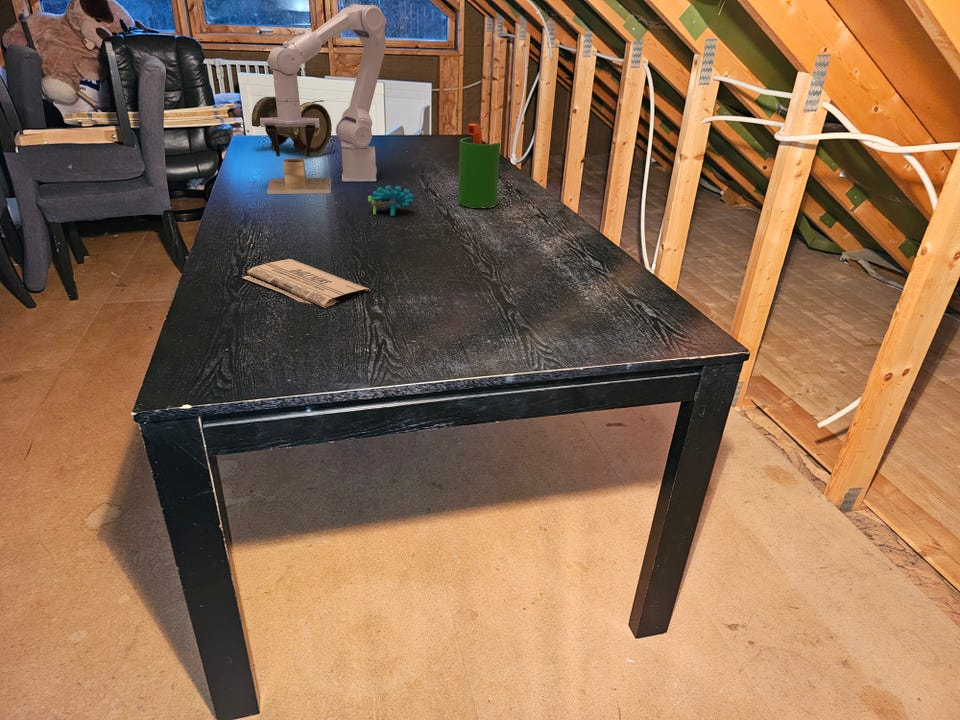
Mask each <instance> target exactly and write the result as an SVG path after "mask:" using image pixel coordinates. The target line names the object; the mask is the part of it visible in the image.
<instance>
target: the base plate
mask: <svg viewBox="0 0 960 720" xmlns="http://www.w3.org/2000/svg"><path fill="white" fill-rule="evenodd" d="M331 190H332V178H331V177H306V185H305V186H286V184H285V177H284V178H283V177H281V178H280V177H279V178H276V177H275V178H271V177H270V181H269V183H268V187H267V189H266V194H267V195H285V194H286V195H287V194H288V195H289V194H290V195H291V194H292V195H293V194H297V195H300V194H304V195H307V194H309V195H310V194H331V192H332V191H331Z"/></svg>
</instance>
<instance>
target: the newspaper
mask: <svg viewBox="0 0 960 720" xmlns="http://www.w3.org/2000/svg"><path fill="white" fill-rule="evenodd" d="M246 272H247V274H248V275H246V276H242V279H245V280H248V281H249V282H252V283H255V284H258V285H260V286H263V287H265V288H268V289H271V290H273V291H275V292H278V293H281V294H283V295H285V296H287V297H289V298H291V299H294V300H296V301H297V302H300V303H305V304H308V305H309V304H310V305H314V304H316V306H320V307H322V308H324V309H328V308H329V306H330V307H331V306H333V305H336V304H335V303H336V301H333V300H332V298H334V299H336V298H338V297H340V296H344V295H347V294H350V293H351V294H352V293H356V292H359V291H363V290H365V291H364V292H366V291H368V290H369V291H368V292H371V289H370V288H368V287H366V286H363V285H360V284H358V283H355V282H353V281H350V280H348V279H345V278H342V277H339V276H337V275H335V274H332V273H329V272H326V271H324V270H321V269H318V268H317V267H313V266H311V265H308V264H307V263H303V262H300V261H297V260H295V259H291V258H288V259H283V260H277V261H272V262H267V263H263V264H261V265H260V264H259V265H256V266H252V267H251V268H250V269H248V270H247V271H246ZM251 276H253V277H256V278H258V279H261V280H263V281H261V280H258V279H256V278H253V277H251ZM264 281H266V282H268V283H271V284H273V285H276V286H278V287H280V288H283V289H285V290H283V289H280V288H278V287H275V286H273V285H271V284H268V283H266V282H264ZM286 290H287V291H286ZM311 302H312V303H311ZM313 303H314V304H313ZM327 307H328V308H327Z"/></svg>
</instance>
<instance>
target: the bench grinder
mask: <svg viewBox="0 0 960 720" xmlns="http://www.w3.org/2000/svg"><path fill="white" fill-rule="evenodd" d="M320 102H321V103H324V100H323V99H322V100H314V101H307V102H304V103H302V104H300V111H301V117H305V118H319V125H320V126H319V127H315V132H314V135H313V138H312V141H311V146H310V154H311V153H313V154H320V153H322V151H324V150H325V148H327V146H328V145H329V143H330V140H331V136H332V130H333V129H332V119H331V116H330V114H329V112H328V111H327V109H326V108H325V107H324V106H323V105H321V104H319V103H320ZM273 117H278V113H277V104H276V96H264V97H262V98H260V99H259V100H257V102H256V103H255V105H254V106H253V108H252V113H251V126H252V127H254V128H255V127H256V128H258V127H261V125H260V118H273ZM277 136H278V144H279V146H281V145H283V144H284V143H286V142H287V141H288V139H290V140H291V141H292V142H293V145H292V147H293V148H295V149H299V150H304V151H305V152H304V157H306V158H309V156H307V143H306V134H305V127H277ZM270 150H272V151H275V149H274V146H273V144H272V142H271V143H270Z"/></svg>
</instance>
